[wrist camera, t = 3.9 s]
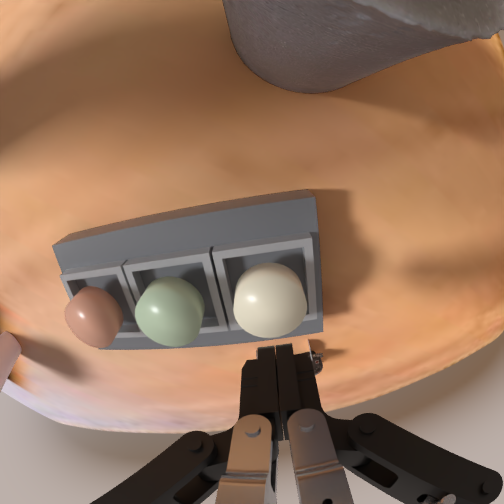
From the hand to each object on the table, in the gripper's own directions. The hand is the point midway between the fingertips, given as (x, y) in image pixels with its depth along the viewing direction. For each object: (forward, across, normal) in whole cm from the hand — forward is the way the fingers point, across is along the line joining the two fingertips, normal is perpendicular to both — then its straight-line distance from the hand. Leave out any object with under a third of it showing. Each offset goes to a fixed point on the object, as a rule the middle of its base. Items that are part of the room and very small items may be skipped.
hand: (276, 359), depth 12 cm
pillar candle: (+10, -5, -16) cm, 19 cm away
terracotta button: (+5, +12, 0) cm, 13 cm away
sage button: (+5, +6, 0) cm, 8 cm away
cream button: (+5, 0, 0) cm, 5 cm away
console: (+9, +6, 0) cm, 11 cm away
